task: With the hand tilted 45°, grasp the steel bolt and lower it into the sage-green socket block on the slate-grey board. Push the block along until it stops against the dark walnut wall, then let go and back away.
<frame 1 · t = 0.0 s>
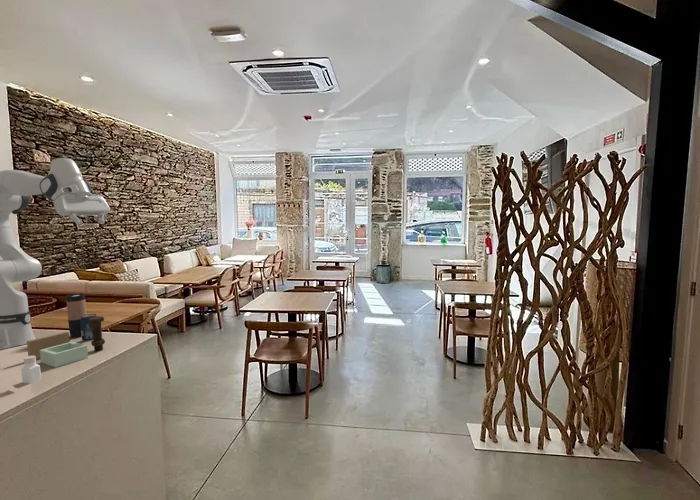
hand: (91, 223, 162), 54 cm above the countertop, tool tilted 30°, fingers open, 8 cm apart
travel mug: (79, 336, 196), on the countertop
soda can: (91, 341, 187), on the countertop
bolt: (99, 353, 170), on the countertop
socket block: (64, 353, 159), point 4 cm above the countertop, slide at 0.0 cm
pepper shaker: (32, 384, 140), on the countertop
backstop board: (65, 362, 159), on the countertop
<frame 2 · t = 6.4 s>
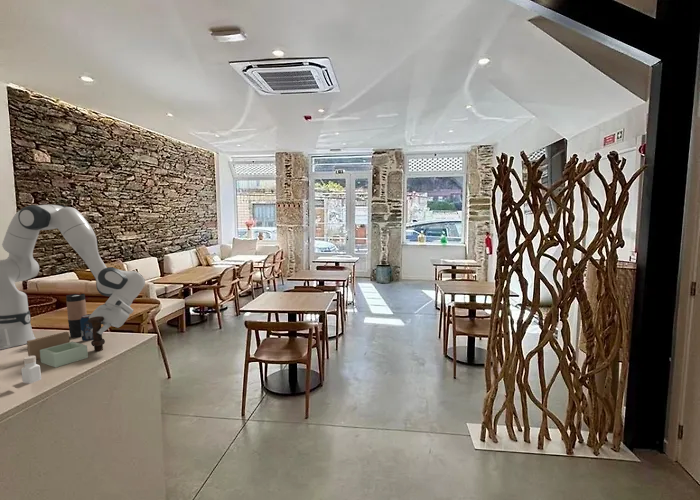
hand: (95, 332, 169), 9 cm above the countertop, tool tilted 45°, fingers closed on bolt, 3 cm apart
bolt: (99, 353, 170), on the countertop, touching gripper
everything else where it was.
when the fingers open (12 cm above the countertop, at t = 13.7 s): bolt stays where it is, resting on socket block.
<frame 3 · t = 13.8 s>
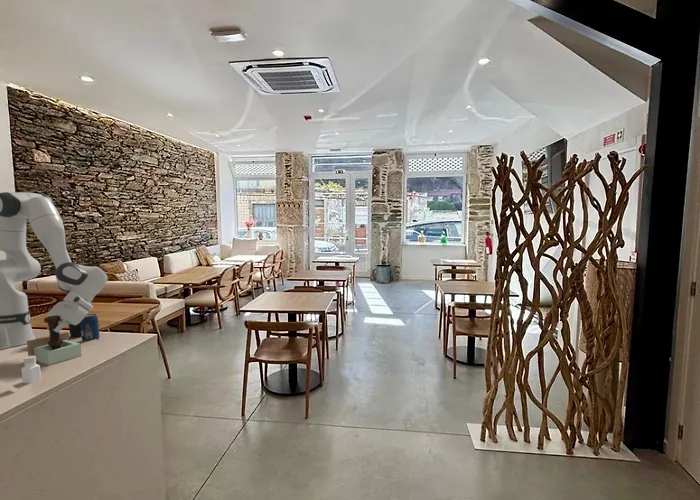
hand: (52, 330, 161), 12 cm above the countertop, tool tilted 45°, fingers open, 3 cm apart
bolt: (56, 353, 163), point 2 cm above the countertop, touching socket block
socket block: (57, 351, 161), point 4 cm above the countertop, slide at 5.0 cm, touching bolt
everything else where it was.
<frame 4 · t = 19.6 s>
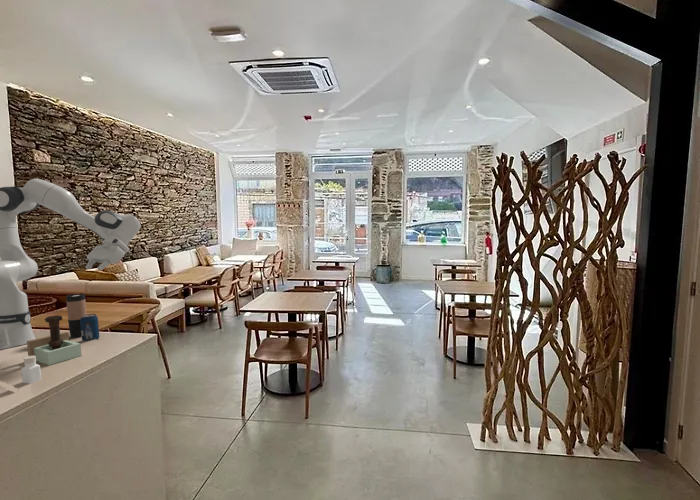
hand: (93, 269, 177), 34 cm above the countertop, tool tilted 45°, fingers open, 8 cm apart
nothing on the countertop moved.
at the end: bolt 0.7 cm from the target spot, point 2.4 cm above the countertop; bolt tilted 0°; socket block slide at 5.0 cm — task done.
